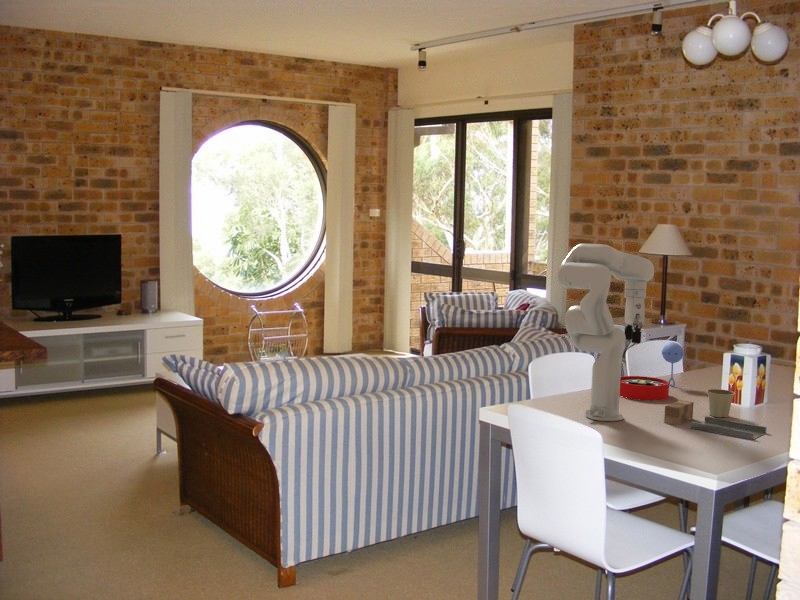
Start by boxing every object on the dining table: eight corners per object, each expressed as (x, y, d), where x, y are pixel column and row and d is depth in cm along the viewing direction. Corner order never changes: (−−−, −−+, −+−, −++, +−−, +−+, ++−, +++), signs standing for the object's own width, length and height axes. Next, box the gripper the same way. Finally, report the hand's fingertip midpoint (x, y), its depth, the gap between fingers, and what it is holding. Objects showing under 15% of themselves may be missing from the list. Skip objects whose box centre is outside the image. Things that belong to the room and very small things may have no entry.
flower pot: (732, 414, 312) (733, 390, 311) (734, 420, 303) (736, 395, 302) (704, 411, 314) (705, 388, 313) (705, 417, 305) (707, 393, 304)
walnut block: (676, 425, 293) (677, 408, 293) (664, 423, 296) (665, 405, 296) (692, 419, 303) (693, 402, 302) (679, 417, 306) (680, 400, 305)
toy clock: (659, 388, 326) (607, 381, 337) (658, 403, 327) (607, 396, 338) (676, 380, 342) (626, 373, 354) (675, 395, 343) (626, 388, 354)
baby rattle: (655, 384, 363) (658, 341, 361) (673, 383, 365) (676, 340, 363) (667, 388, 354) (670, 344, 353) (686, 387, 357) (688, 343, 355)
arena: (752, 439, 276) (752, 433, 276) (691, 428, 289) (691, 422, 289) (766, 433, 285) (766, 427, 285) (706, 422, 299) (706, 416, 298)
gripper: (652, 296, 309) (649, 344, 310) (638, 292, 326) (635, 338, 327) (631, 295, 309) (628, 343, 310) (618, 291, 326) (615, 337, 327)
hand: (632, 340), depth 319 cm, fingers open, 9 cm apart
